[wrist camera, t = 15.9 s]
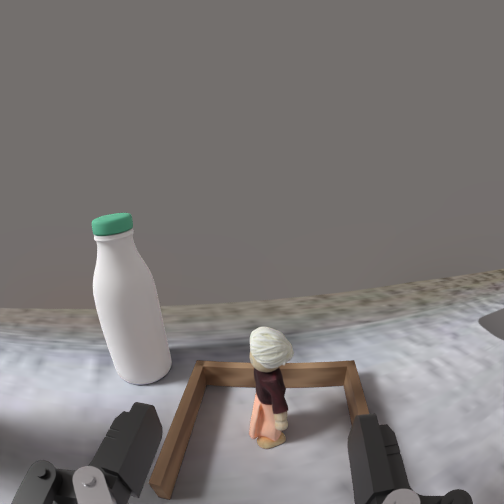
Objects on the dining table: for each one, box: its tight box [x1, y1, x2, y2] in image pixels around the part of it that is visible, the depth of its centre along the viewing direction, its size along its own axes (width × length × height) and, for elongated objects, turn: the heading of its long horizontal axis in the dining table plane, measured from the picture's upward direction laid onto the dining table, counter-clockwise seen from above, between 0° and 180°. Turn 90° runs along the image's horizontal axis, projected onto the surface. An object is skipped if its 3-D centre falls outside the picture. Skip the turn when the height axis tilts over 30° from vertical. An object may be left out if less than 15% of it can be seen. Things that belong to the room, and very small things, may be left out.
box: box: [149, 360, 369, 500], centre depth 24 cm, size 18×17×3 cm
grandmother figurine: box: [249, 327, 294, 449], centre depth 23 cm, size 8×4×13 cm, turn 21°
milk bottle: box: [92, 213, 172, 385], centre depth 32 cm, size 8×8×20 cm
